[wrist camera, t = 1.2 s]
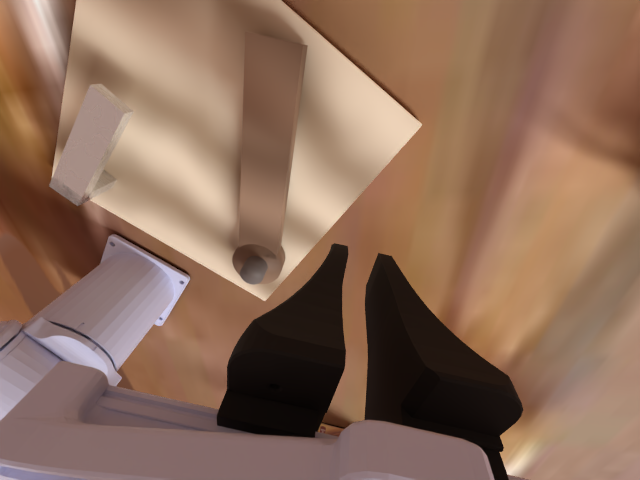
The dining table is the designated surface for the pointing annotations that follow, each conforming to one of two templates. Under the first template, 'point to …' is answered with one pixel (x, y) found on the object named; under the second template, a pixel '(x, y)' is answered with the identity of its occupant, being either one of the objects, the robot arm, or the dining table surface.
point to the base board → (222, 122)
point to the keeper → (91, 146)
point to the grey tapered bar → (267, 152)
